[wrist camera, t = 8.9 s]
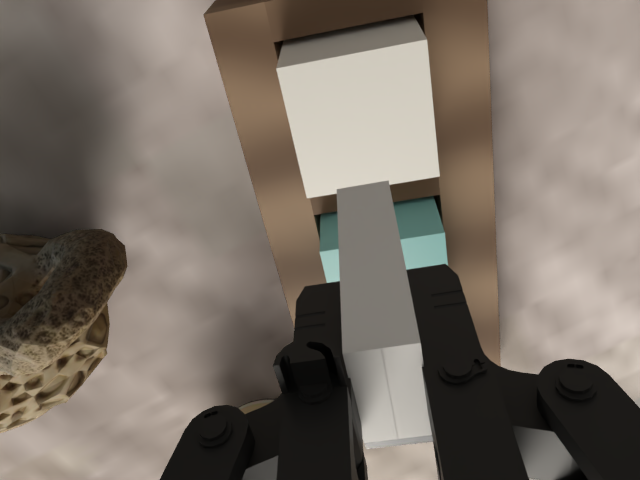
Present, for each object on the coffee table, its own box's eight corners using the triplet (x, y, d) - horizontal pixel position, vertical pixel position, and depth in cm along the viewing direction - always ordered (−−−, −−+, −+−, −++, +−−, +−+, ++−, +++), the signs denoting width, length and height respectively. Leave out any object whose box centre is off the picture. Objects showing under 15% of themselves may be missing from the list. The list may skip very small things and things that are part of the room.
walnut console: (218, -3, 28) (203, 14, 25) (466, -56, 27) (485, -44, 24) (325, 390, 43) (324, 434, 40) (488, 369, 42) (502, 413, 38)
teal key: (320, 201, 32) (319, 252, 28) (429, 183, 31) (444, 232, 27) (339, 286, 35) (341, 343, 31) (438, 271, 35) (453, 327, 30)
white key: (284, 37, 27) (276, 68, 23) (411, 11, 27) (427, 39, 22) (309, 152, 30) (306, 198, 26) (424, 132, 30) (439, 176, 26)
